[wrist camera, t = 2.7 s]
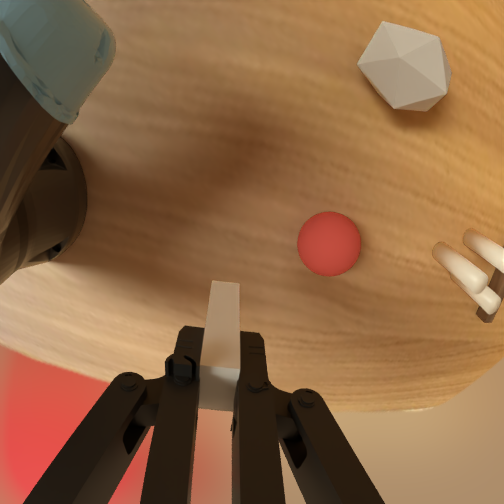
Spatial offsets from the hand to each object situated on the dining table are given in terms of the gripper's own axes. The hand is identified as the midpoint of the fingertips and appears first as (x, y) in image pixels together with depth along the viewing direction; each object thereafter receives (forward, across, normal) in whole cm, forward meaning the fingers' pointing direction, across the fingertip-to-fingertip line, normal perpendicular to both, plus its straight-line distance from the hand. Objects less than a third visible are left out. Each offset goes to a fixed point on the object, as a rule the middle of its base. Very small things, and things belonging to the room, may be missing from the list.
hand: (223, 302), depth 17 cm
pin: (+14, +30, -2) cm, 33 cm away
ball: (+11, +9, 0) cm, 15 cm away
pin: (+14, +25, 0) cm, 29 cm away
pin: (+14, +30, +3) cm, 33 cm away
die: (+15, +13, +18) cm, 27 cm away
